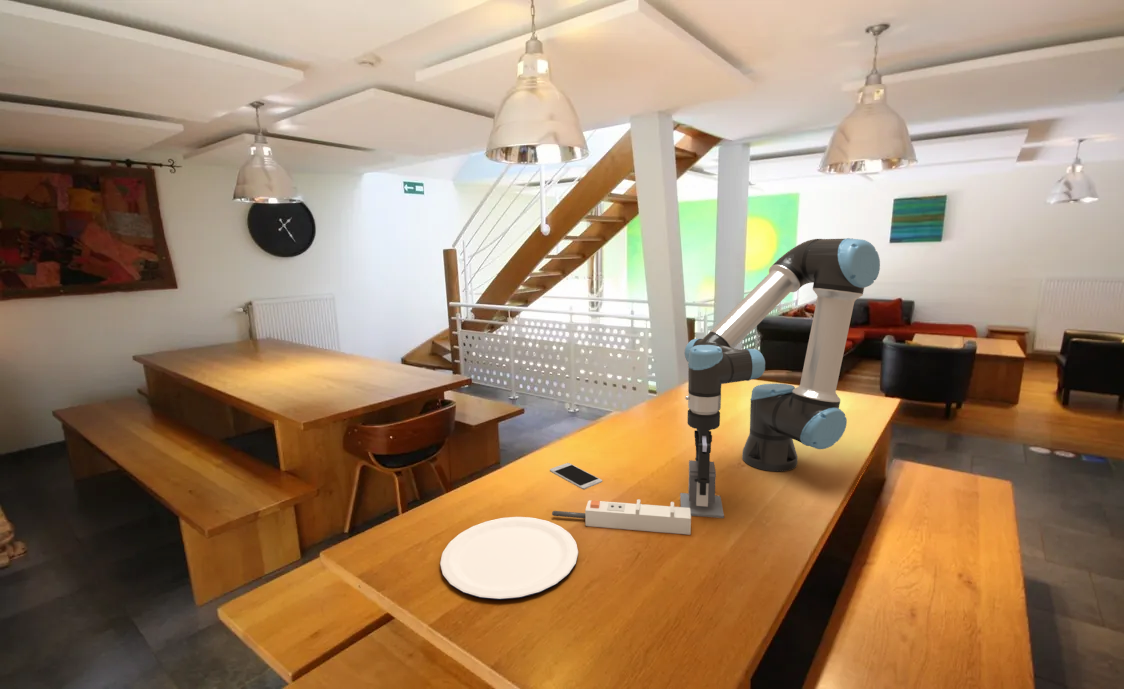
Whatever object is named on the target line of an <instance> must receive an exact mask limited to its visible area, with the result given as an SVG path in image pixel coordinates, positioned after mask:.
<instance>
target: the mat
mask: <svg viewBox="0 0 1124 689" xmlns="http://www.w3.org/2000/svg"><path fill="white" fill-rule="evenodd" d="M679 497H680V500H679V501H680V507H685V508H690V512H691V517H703V518H705V517H706V518H717V519H725V514H724V510H723V509H724V508H723V502H722V497H721V495H716V494H715V503H708V507H706V506H696V502H694V501H689V492H687V493H686V492H680V494H679Z"/></svg>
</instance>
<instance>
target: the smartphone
mask: <svg viewBox="0 0 1124 689" xmlns="http://www.w3.org/2000/svg"><path fill="white" fill-rule="evenodd" d="M549 472H550V473H553V474H554V475H556V476H558V477H559V478H561V479H563V480H565V481H567V482H568V483H570V484H572V485H574V486H576V487H577V488H579V489H581V490H587V489H589V488H591V487H593V486H594V487H595V486H596V485H598V484H600V483H603V479H601V478H599V477H597V476H595V475H593V474H591V473H590V472H588V471H586V470H583V469H582V468H579V467H578V466H576V465H574V464H572V463H570V462H567V463H562V464H560V465H557V466H555V467H551V468H549Z"/></svg>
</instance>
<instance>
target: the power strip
mask: <svg viewBox="0 0 1124 689" xmlns="http://www.w3.org/2000/svg"><path fill="white" fill-rule="evenodd" d="M551 515H552V516H554V517H563V518H564V517H565V518H572V519H573V518H575V519H585V527H595V528H604V529H605V528H608V529H615V530H616V529H619V530H628V531H629V530H631V531H632V530H633V531H641V532H642V531H643V532H654V533H664V534H679V535H690V536H691V535H692V534H691V532H692V531H691V530H692V528H691V526H692V525H691V524H692V516H691V512H690V508H685V507H681V506H675V502H674V501H670V505H669V506H668V505H657V504H642V503H641V499H636V503H629V502H616V501H615V502H614V501H604V500H602V501H601V500H587V504H586V507H585V511H584V512H575V511H573V512H572V511H561V510H553V511H551Z"/></svg>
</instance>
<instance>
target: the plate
mask: <svg viewBox="0 0 1124 689" xmlns="http://www.w3.org/2000/svg"><path fill="white" fill-rule="evenodd" d="M578 549H579V548H578V545H577V542H576V540H575V539H574V537H573V536H572V534H571V533H570V531H568V530H566V529H565V528H563V527H562V526H561V525H558V524H556V523H554V522H552V521H548V520H545V519H541V518H535V517H529V516H526V517H525V516H509V517H500V518H496V519H492V520H485V521H484V522H481V523H479V524H476V525H475V524H474V525H472V526H471V527H469V528H467V529H465V530H463V531H462V532H460V533H458V535H456V536H455V537H454V538H453V539H451V541H449V542H448V544H447V545H446V547H445V549H444V550H443V551H442V553H441V558H440V562H439V564H440V569H441V573H442V576H443V577H444V578H445V580H446V581H447V582H448V584H449V585H450V586H452V587H453V588H455V589H456V590H458V591H460V592H462V593H463V594H465V595H466V594H467V595H470V596H474V597H477V598H480V599H489V600H499V601H500V600H509V599H510V600H511V599H521V598H525V597H527V596H532V595H535V594H539V593H541V592H544V591H546V590H548V589H550V588H552V587H554V586H556V585H557V584H559V583H560V582H561V581H562V580H564V578H566V577H567V576H569V574H570V573H571V571H572V570H573V568H574V567H575V566H576V563H577V560H578V556H579V550H578Z"/></svg>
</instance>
